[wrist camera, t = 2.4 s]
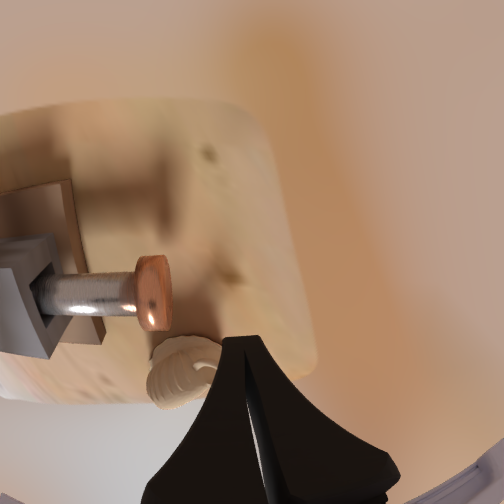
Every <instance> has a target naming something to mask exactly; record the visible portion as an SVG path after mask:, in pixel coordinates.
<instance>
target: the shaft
mask: <svg viewBox="0 0 504 504" xmlns="http://www.w3.org/2000/svg"><path fill="white" fill-rule="evenodd" d="M29 287H30V290H31V293H32V296H33V298H34V301H35V304H36V306H37V309H38V311H39V314H47V315H72V316H137V317H138V320H139V323H140V325H141V327H142V329H143V330H144V331H169V330H170V327H171V323H172V312H173V299H172V283H171V275H170V268H169V264H168V260H167V258H166V256H165V255H154V256H141V257H140V258H139V259H138V261H137V264H136V268H135V272H110V273H81V274H47V275H38V276H37V277H36V278H35V279H34V280H33V281H32V282H31V283H30V284H29Z"/></svg>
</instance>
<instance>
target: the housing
mask: <svg viewBox="0 0 504 504" xmlns="http://www.w3.org/2000/svg"><path fill="white" fill-rule="evenodd" d="M81 273H88V270H87V266H86V262H85V258H84V253H83V249H82V244H81V239H80V234H79V229H78V224H77V218H76V212H75V206H74V199H73V192H72V184H71V179H68V180H62V181H57V182H51V183H46V184H41V185H36V186H31V187H26V188H21V189H17V190H13V191H8V192H4V193H0V351H1V352H6V353H11V354H17V355H22V356H28V357H35V358H42V359H50V357H51V355H52V353H53V352H54V350H55V348H56V346H57V344H58V342H63V343H76V344H93V345H101V344H102V342H103V339H104V337H105V335H106V331H105V328H104V325H103V322H102V319H101V316H72V315H47V314H39V311H38V309H37V306H36V304H35V301H34V298H33V296H32V293H31V290H30V287H29V284H30V283H31V282H32V281H33V280H34V279H35V278H36V277H37V276H38V275H47V274H81Z"/></svg>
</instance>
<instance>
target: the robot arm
mask: <svg viewBox="0 0 504 504" xmlns="http://www.w3.org/2000/svg"><path fill="white" fill-rule="evenodd" d="M246 400H247V401H246ZM247 404H248V407H247ZM248 408H249V412H250V416H251V420H252V424H253V428H254V432H255V435H256V439H257V443H258V447H259V453H260V460H261V465H262V472H263V479H264V483H263V479H262V475H261V471H260V467H259V462H258V458H257V453H256V448H255V444H254V439H253V434H252V428H251V424H250V418H249V412H248ZM400 476H401V475H400V472H399V471H398V468H397V466H396V465H395V463H394V461H393V460H392V459H391V457H390V455H389V454H388V453H387V452H385V451H383V450H380V449H378V448H376V447H374V446H372V445H370V444H368V443H367V442H365V441H363V440H361V439H359V438H358V437H356V436H354V435H353V434H351V433H349V432H348V431H346V430H345V429H343V428H342V427H341V426H339V425H338V424H336V423H335V422H334V421H332V420H331V419H330V418H328V417H327V416H326V415H324V414H323V413H322V412H321V411H320V410H319V409H317V408H316V407H315V406H314V405H313V404H312V403H311V402H310V401H309V400H307V399H306V398H305V396H304V395H303V394H302V393H301V392H300V391H299V390H298V389H297V388H296V387H295V386H294V385H293V384H292V382H291V381H290V380H289V379H288V378H287V376H286V375H285V374H284V373H283V371H282V370H281V369H280V367H279V366H278V365H277V363H276V362H275V361H274V359H273V358H272V356H271V355H270V353H269V351H268V350H267V348H266V346H265V345H264V343H263V341H262V339H261V337H260V336H258V335H251V336H238V337H225V338H224V339H223V340H222V351H221V356H220V360H219V364H218V367H217V370H216V373H215V376H214V379H213V382H212V385H211V387H210V390H209V392H208V394H207V397H206V399H205V402H204V404H203V406H202V408H201V410H200V412H199V414H198V415H197V417H196V419H195V421H194V422H193V424H192V426H191V428H190V429H189V431H188V433H187V434H186V436H185V437H184V439H183V440H182V442H181V443H180V444H179V446H178V447H177V449H176V450H175V451H174V453H173V454H172V455H171V457H170V458H169V459H168V460H167V462H166V463H165V464H164V465H163V467H161V469H160V470H159V471H158V472H157V473H156V474H155V475H154V476H153V477H152V478H151V479H150V481H149V482H148V483H147V485H146V487H145V490H144V493H143V496H142V499H141V504H386V502H387V501H388V497H387V495H386V493H385V492H386V491H388V490H389V489H390V488H391V487H392V486H394V485H395V484H396V483H397V482H398V481H399V479H400ZM264 484H265V487H264ZM502 500H504V438H503V439H501V440H500V441H499V442H498V443H496V444H495V445H494V446H493V447H491V448H490V449H489V450H488V451H486V452H485V453H484V454H483V455H482V456H481V457H480V458H479V459H477V461H476V462H475V463H473V464H472V465H470V466H469V467H467V468H466V469H464V470H463V471H461V472H460V473H458V474H457V475H455V476H454V477H452V478H450V479H449V480H447V481H445V482H444V483H442V484H440V485H439V486H437V487H435V488H433V489H431V490H430V491H428V492H426V493H424V494H422V495H420V496H418V497H416V498H414V499H412V500H410V501H408V502H406V503H404V504H499V503H501V502H502ZM0 504H24V503H22V502H20V501H18V500H16V499H14V498H12V497H10V496H8V495H6V494H4V493H1V496H0Z"/></svg>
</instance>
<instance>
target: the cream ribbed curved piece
mask: <svg viewBox="0 0 504 504" xmlns="http://www.w3.org/2000/svg"><path fill="white" fill-rule="evenodd" d="M221 351H222V346H221V345H219V344H217V343H215V342H213V341H211V340H209V339H208V338H205V337H199V336H195V335H193V336H183V335H182V336H179V337H173V338H168V339H166V340H165V341H164V342H163V343H162V344H160V345H158V346H157V347H156V348H155V349H154V351H153V358H152V359H151V360H150V361H149V363H150V369H149V374H148V377H147V383H146V386H147V394H148V396H149V397H150V399H151V400H152V401H153V402H154V404H155V405H156V406H157V407H158V408H160V409H163V410H168V409H174V408H177V407H180V406H182V405H184V404H186V403H188V402H190V401H192V400H193V399H195V398H197V397H198V396H199V395H201V394H202V393H203V392H205V391H206V390H207V389H208V388H210V387H211V385H212V382H213V379H214V376H215V373H216V370H217V367H218V364H219V360H220V356H221Z"/></svg>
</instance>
